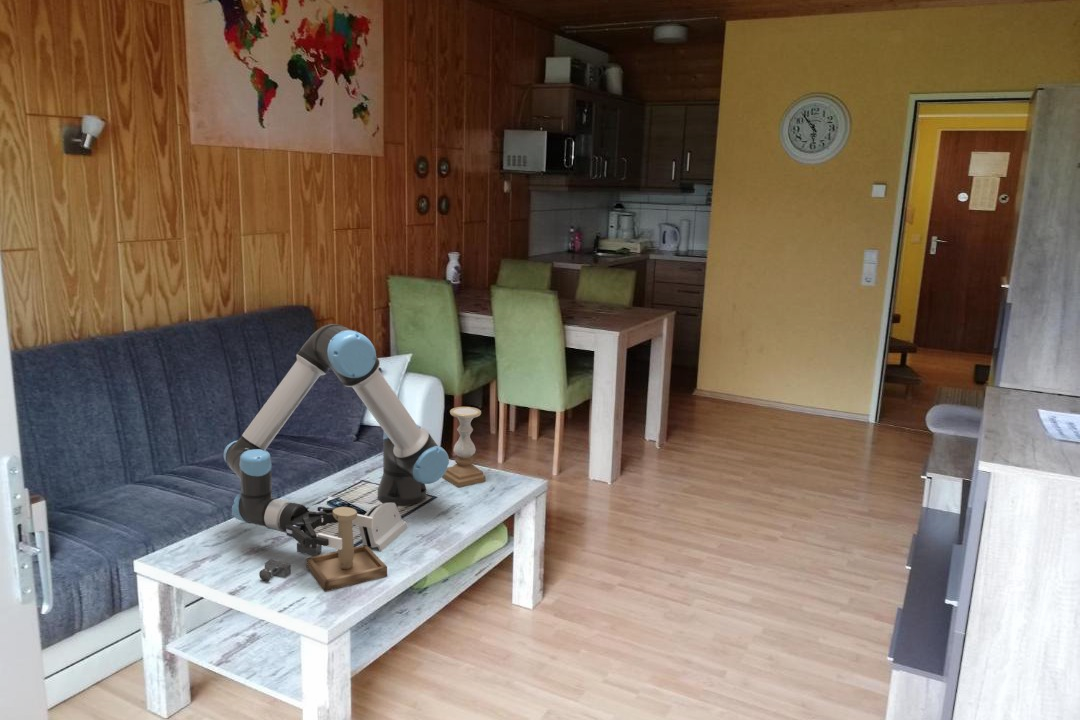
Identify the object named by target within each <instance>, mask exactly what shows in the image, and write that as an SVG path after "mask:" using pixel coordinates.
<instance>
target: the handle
mask: <svg viewBox="0 0 1080 720" xmlns="http://www.w3.org/2000/svg"><path fill="white" fill-rule="evenodd" d="M335 508H336V509H334V510H333V516H334V518H335V519H336V520H338V523H337V525H338V526H337V529H338V531H337V537H338V538H342V549H341V550H338V549H337V551H338V556H339V561H340V566H341V568H342V569H349V568H351V567H353V562H352V561H353V558H354V547H355V543H354V534H353V531H354V530H353V524H352V520H354V519H355V518H356V517H357V514H358V512H357V510H356V508H355V509H352V508H353V507H350V506H349V507H348V506H340V507H339V506H338V507H335Z"/></svg>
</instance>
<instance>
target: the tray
mask: <svg viewBox="0 0 1080 720" xmlns="http://www.w3.org/2000/svg"><path fill="white" fill-rule="evenodd" d="M305 561H306V568H307V569H308V571H309V573H310V574H311V575H312V576H313V577H314V579H315V580H316V581H317V583H318V585H319V586H320V587H321V589H323V591H324V592H328V591H334V590H337V589H340V588H344V587H348V586H353V585H357V584H361V583H364V582H368V581H373V580H377V579H380V578H384V577H388V566H387V565H386V564H385V562H383V561H382V560H381V559H380V558H379V557H378V556H377V554H375V552H374V551H373V550H372V548H371V547H368V546H367V545H363V544H362V545H359V546H354V558H353V561H352V562H353V567H351V568H349V569H342V568H341V566H340V561H339V556H338V550H336V551H332V552H331V551H330V552H327V553H324V554H323V553H321V554H319V555H317V556H310V557H307V558H306V559H305Z"/></svg>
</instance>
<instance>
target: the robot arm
mask: <svg viewBox="0 0 1080 720" xmlns="http://www.w3.org/2000/svg"><path fill="white" fill-rule="evenodd" d="M380 364H381V363H380V360H379V358H378V357H377V351H376V348H375V346H374V344H373V342H372V341H371V340H370V339H369V338H368V337H367V336H365V335H364V334H362V333H361V332H358V331H357V330H353V329H350V328H348V327H346V326H344V325H341V324H339V323H330V324H326V325H323V326H321V327H319V328H318V329H317V330H316V331H315V332H314V333H312V334H311V336H310V337H309V338H308V339H307V340H306V341H305V343H304V344H303V345H302V347H300V349H299V351H298V352H297V353H296V361H295V362H294V364H292V366H291V368H290V369H289V370H288V371H287V373H286V374H285V375H284V377H283V378H282V380H281V382H280V383H279V384H278V385H277V387H276V388H275V389H274V391H273V393H272V394H271V395H270V396H269V397H268V399H267V401H266V402H265V403H264V404H263V406H262V407H261V408H260V410H259V411H258V413H257V414H256V416H255V417H254V418H253V419H252V421H251V422H250V424H248V427H246V429H245V430H244V432H243V433H242V434H241V436H240V437H239V438H238V440H234V441H232V442H230V443H229V444H227V445H226V446H225V448H224V450H223V459H224V461H225V463H226V465H227V467H228V468H229V469H230V470H231V471H233V472H234V474H235V475H236V476H237V477H238V478H239V480H240V490H241V491H240V493H238V494H237V495H236V496H235V498H234V500H233V504H232V506H231V512H232V515H233V517H234V519H236V520H239V521H241V522H245V523H246V524H251V525H252V524H253V525H257V526H262V527H265V528H270V529H273V530H274V529H275V530H277V531H281V532H285V534H286V536H288V537H290V538H293V539H294V540H295V541H296V542H297V543H298V542H299V543H300V544H302V545H303V546H304V547H305V548H309V547H310V545H312V548H316V547H317V544H318V545H322V547H327V548H332V549H335V550H337V551H338V550H341V549H342V538H338V536H334V535H329V534H325V533H321V532H318V533H316V532H315V529H317V528H319V527H325V526H327V524H329V525H330V524H338V520H336V519H335V518H334V516H333V510H334V509H336V508H337V507H325V506H317V508H316V509H317V510H316V511H310V510H309V509H308V508H307V507H306V506H305V505H303V504H300V503H296V502H292V501H287V500H282V499H279V498H274V497H272V496H273V495H272V467H273V465H272V461H271V454H270V452H268V451H267V449H268V447H269V446H270V444H271V443H272V442H273V441H274V439H275V437H276V436H277V434H278V433H279V432H280V430H281V429H282V428H283V427H284V425H285V424H286V422H287V421H288V420H289V418H290V417H291V416H292V414H293V413H294V412H295V410H296V409H297V408H298V406H299V405H300V403H301V402H302V400H303V399H304V398H306V395H307V394H308V392H310V390H311V389H312V387H313V386H314V384H315V383H316V381H317V380H318V379H319V377H322V376H325V375H327V373H328V372H329V370H330V369H331V371H333V373H334V374H335V376H337V378H338V380H339V381H340V383H342V385H343V386H344V387H347V388H352V389H353V390H354V392H355V393H356V395H357V396H358V397H359V399H360V400H361V401H362V403H363V404H364V405H365V407H366V409H367V410H368V411H369V412H370V413H371V415H372V417H373V418H374V419H375V421H376V423H377V424H378V425H379V426H380V427H381V429H382V431H383V437H382V441H383V442H382V443H383V444H382V446H383V447H382V448H383V451H382V452H383V453H382V454H383V458H382V460H383V462H382V463H383V465H382V466H383V468H382V469H383V474H382V475H381V479H380V481H379V485H378V487H377V499H378V500H379V501H380V502H381V503H383V502H384V503H395V504H396V506H410V505H409V504H411V505H416V504H418V503H421V502H423V501H424V500H426V498H427V486H426V485H430V484H435V483H436V482H438V481H440V480H441V479H442V476H443V475H444V474H445V472H446V470H447V468H448V466H449V464H450V463H449V462H450V458H449V455H448V453H447V451H446V450H445V449H444V448H443V447H441V446H439V445H438V444H437V443H436V441H435V440H434V438H433V436H432V435H431V434H430V433H429V431H428V429H426V428H423V427H422V426H421V425H419V424H417V423H416V422H415V420H414V419H413V417H412V416H411V415H410V413H409V412H408V410H407V409H406V407H405V406H404V404H403V403H402V401H401V400H400V398H399V397H398V396H397V394H396V393H395V391H394V390H393V388H392V386H391V385H390V384H389V383H388V381H387V380H386V379H385V377H384V375H383V374H382V373H381V371H380V370H379V368H380V366H381V365H380ZM384 503H383V504H384ZM415 503H416V504H415ZM351 508H352V509H355V510H356V508H355V507H351ZM364 515H365V514H360V513H357V517H356V518H355V519H354V520H352V525H356V526H358V527H359V526H364V527H368V528H373V517H369V516H364Z"/></svg>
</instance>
